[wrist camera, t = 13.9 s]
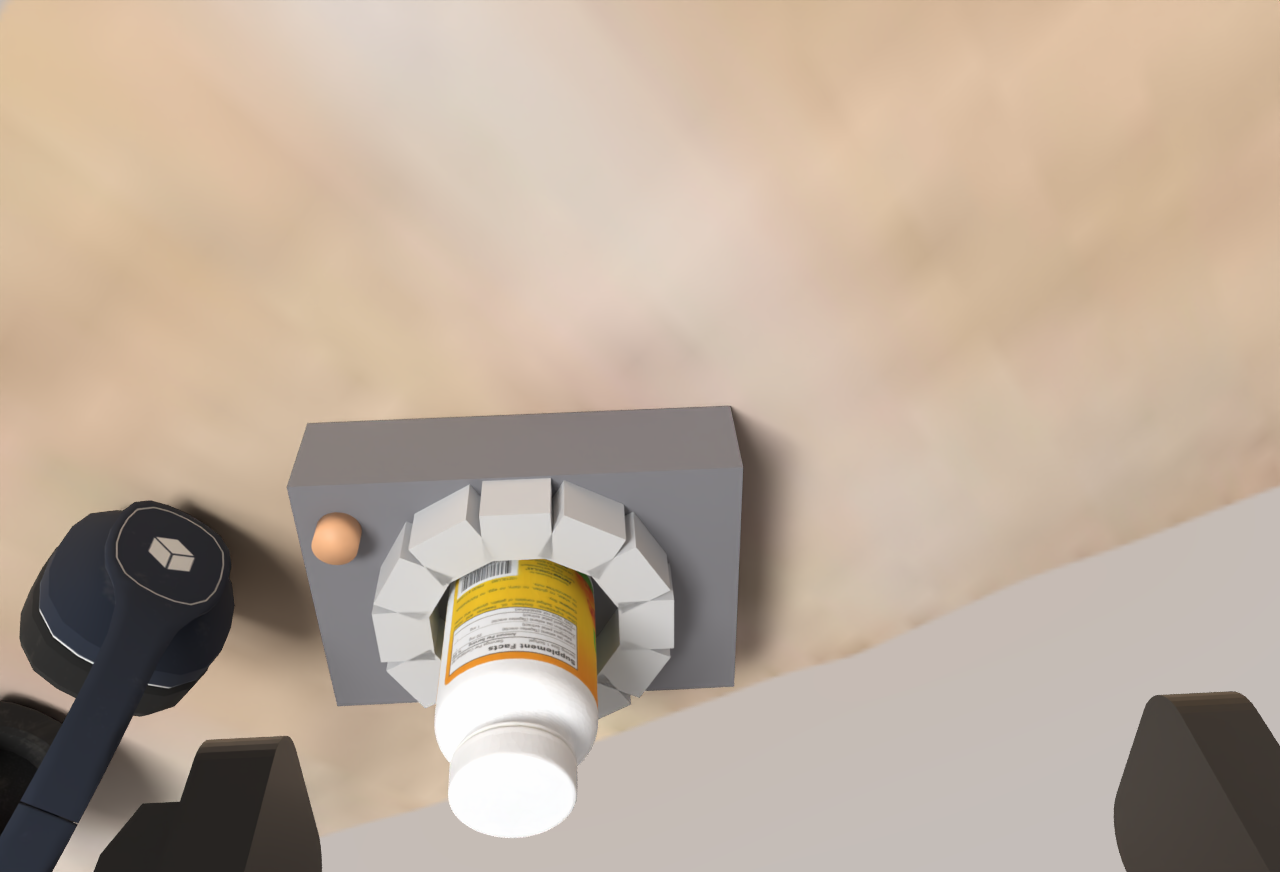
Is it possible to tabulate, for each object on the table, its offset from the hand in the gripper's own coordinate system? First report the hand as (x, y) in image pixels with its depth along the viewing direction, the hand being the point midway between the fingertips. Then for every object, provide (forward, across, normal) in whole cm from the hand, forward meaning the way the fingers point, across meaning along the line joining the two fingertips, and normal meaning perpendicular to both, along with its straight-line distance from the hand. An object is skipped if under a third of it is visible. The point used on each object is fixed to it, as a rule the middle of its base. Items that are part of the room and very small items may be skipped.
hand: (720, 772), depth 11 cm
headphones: (+30, +23, +26) cm, 46 cm away
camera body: (+30, +4, +21) cm, 37 cm away
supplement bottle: (+26, +4, +21) cm, 34 cm away
